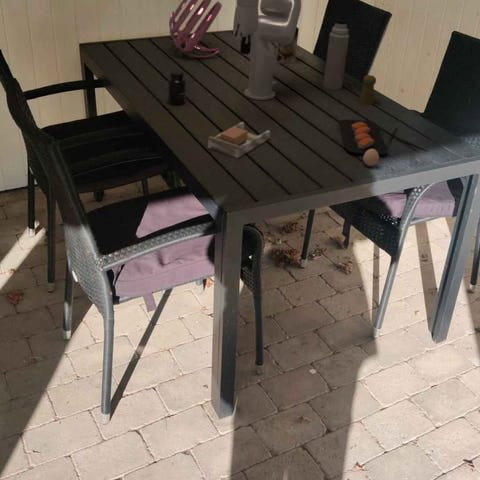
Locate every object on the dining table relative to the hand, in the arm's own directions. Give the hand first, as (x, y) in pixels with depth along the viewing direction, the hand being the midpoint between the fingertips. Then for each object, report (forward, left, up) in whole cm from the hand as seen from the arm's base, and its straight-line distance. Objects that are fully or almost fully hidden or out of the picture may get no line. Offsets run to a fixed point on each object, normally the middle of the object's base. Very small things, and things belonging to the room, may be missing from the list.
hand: (245, 53), depth 238 cm
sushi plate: (-16, +51, -25) cm, 59 cm away
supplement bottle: (+5, -27, -25) cm, 37 cm away
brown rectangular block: (+24, +13, -23) cm, 36 cm away
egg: (+6, +56, -25) cm, 61 cm away
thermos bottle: (-54, +11, -25) cm, 60 cm away
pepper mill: (-47, +30, -25) cm, 61 cm away
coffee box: (-69, -22, -25) cm, 76 cm away
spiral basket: (-49, -59, -25) cm, 81 cm away
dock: (+20, +13, -24) cm, 34 cm away
